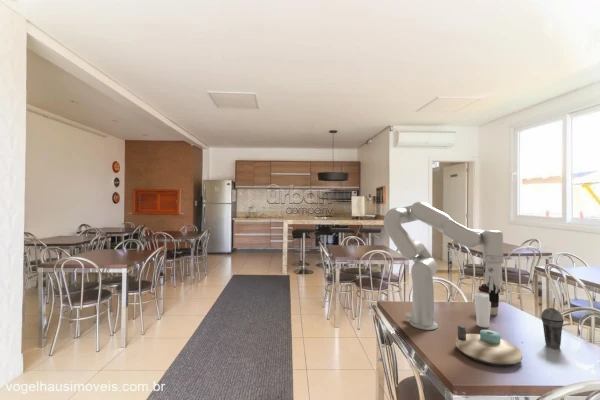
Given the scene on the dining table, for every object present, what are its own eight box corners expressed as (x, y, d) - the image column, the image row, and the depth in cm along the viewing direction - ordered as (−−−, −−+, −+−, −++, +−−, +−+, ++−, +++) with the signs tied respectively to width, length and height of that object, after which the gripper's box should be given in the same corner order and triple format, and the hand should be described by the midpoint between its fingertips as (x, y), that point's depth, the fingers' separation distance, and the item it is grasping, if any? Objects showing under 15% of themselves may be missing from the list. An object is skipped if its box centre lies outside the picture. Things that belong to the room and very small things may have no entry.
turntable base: (456, 355, 117) (456, 351, 117) (467, 339, 130) (467, 336, 130) (512, 371, 105) (512, 367, 105) (518, 353, 118) (518, 349, 119)
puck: (478, 340, 122) (478, 333, 122) (482, 335, 127) (481, 328, 127) (498, 346, 117) (498, 338, 117) (501, 340, 123) (501, 332, 123)
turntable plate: (448, 350, 117) (448, 333, 117) (463, 332, 133) (463, 318, 133) (518, 371, 102) (518, 351, 102) (525, 348, 119) (524, 331, 119)
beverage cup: (536, 343, 127) (535, 295, 128) (552, 342, 128) (551, 295, 128) (552, 351, 120) (551, 300, 120) (569, 350, 121) (568, 300, 121)
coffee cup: (504, 316, 158) (504, 287, 159) (485, 316, 159) (485, 287, 159) (493, 309, 168) (492, 282, 169) (475, 309, 168) (474, 282, 169)
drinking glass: (486, 323, 149) (486, 293, 149) (494, 329, 142) (493, 297, 142) (472, 323, 149) (471, 292, 150) (479, 328, 143) (478, 296, 143)
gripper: (500, 262, 122) (501, 308, 121) (506, 257, 133) (507, 299, 132) (479, 260, 127) (480, 304, 126) (486, 256, 138) (487, 296, 137)
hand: (494, 301), depth 129 cm, fingers closed
